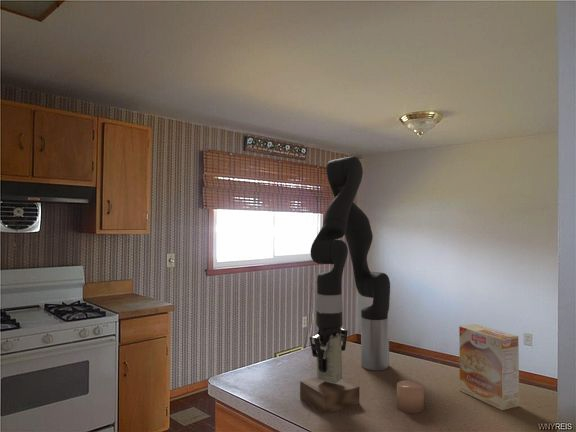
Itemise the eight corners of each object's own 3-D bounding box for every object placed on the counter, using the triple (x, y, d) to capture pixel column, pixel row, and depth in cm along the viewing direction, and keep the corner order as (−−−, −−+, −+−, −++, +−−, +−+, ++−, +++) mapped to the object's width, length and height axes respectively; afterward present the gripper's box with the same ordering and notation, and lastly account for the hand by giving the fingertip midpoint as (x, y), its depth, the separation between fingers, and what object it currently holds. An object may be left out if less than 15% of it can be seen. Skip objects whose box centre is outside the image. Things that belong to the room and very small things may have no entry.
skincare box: (342, 379, 118) (342, 336, 118) (336, 384, 114) (336, 339, 114) (322, 374, 121) (322, 332, 121) (315, 379, 118) (315, 336, 118)
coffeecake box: (458, 390, 125) (458, 325, 125) (476, 387, 127) (475, 323, 128) (501, 411, 111) (501, 338, 111) (520, 406, 114) (519, 335, 114)
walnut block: (333, 390, 126) (333, 373, 126) (359, 404, 115) (359, 386, 115) (300, 398, 119) (300, 381, 119) (324, 414, 109) (324, 395, 109)
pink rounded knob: (405, 399, 118) (405, 378, 118) (428, 407, 113) (428, 385, 113) (392, 407, 113) (391, 385, 113) (415, 415, 108) (414, 392, 108)
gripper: (335, 304, 126) (335, 360, 125) (302, 310, 116) (302, 371, 116) (355, 307, 120) (355, 366, 120) (322, 315, 110) (322, 379, 110)
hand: (329, 368), depth 118 cm, fingers closed on skincare box, 5 cm apart
